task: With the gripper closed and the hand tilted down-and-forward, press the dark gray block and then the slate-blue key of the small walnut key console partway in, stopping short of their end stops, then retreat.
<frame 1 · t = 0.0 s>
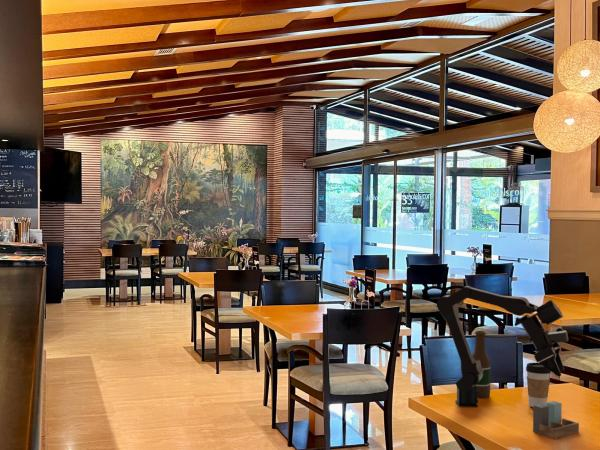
hand: (561, 373, 221), 15 cm above the table, tool tilted 35°, fingers open, 9 cm apart
beer bottle: (479, 396, 248), on the table
slate blue key: (553, 415, 210), point 4 cm above the table, slide at 0.0 cm
coffee cup: (537, 406, 235), on the table
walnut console: (547, 429, 208), on the table
dark gray block: (540, 418, 206), point 4 cm above the table, slide at 0.0 cm
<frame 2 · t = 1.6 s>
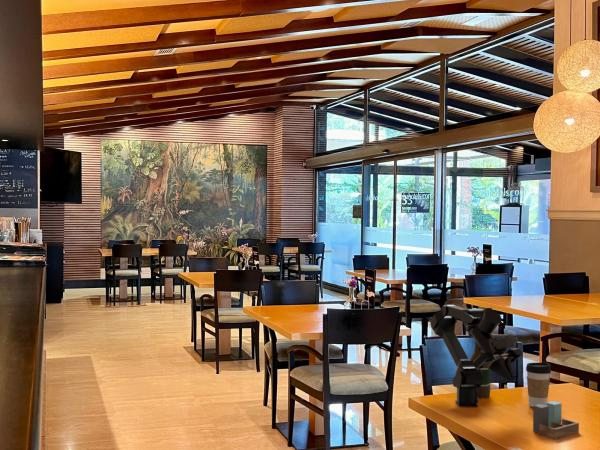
hand: (512, 380, 215), 14 cm above the table, tool tilted 45°, fingers closed
nothing on the table moved.
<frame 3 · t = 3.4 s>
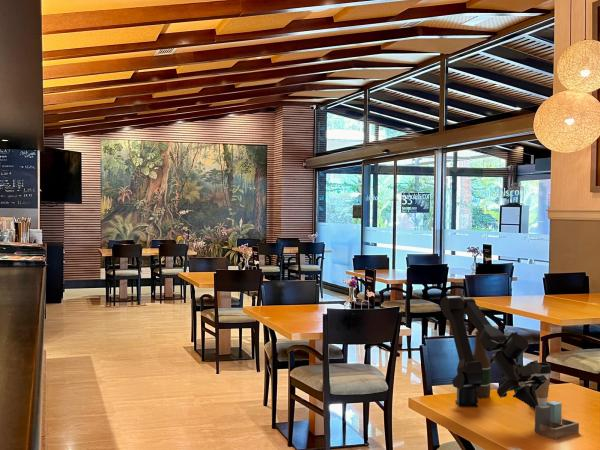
hand: (537, 409, 207), 7 cm above the table, tool tilted 45°, fingers closed, pressing on dark gray block
dark gray block: (542, 419, 206), point 4 cm above the table, slide at 0.6 cm, touching gripper
everything else where it was.
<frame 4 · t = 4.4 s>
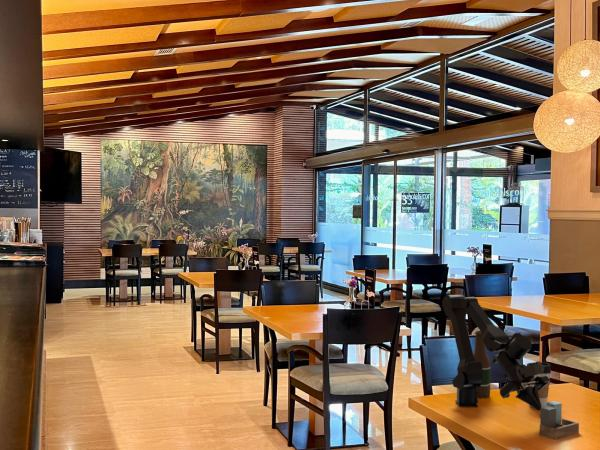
hand: (540, 410, 206), 7 cm above the table, tool tilted 45°, fingers closed
dark gray block: (548, 420, 204), point 4 cm above the table, slide at 2.6 cm
everything else where it was.
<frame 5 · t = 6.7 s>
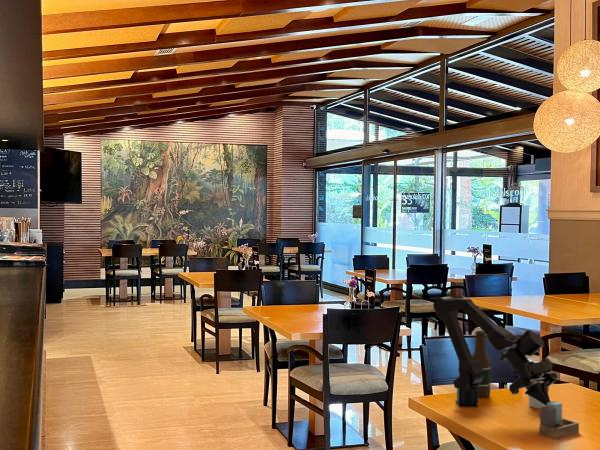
hand: (549, 405, 211), 7 cm above the table, tool tilted 45°, fingers closed, pressing on slate blue key
slate blue key: (554, 415, 210), point 4 cm above the table, slide at 0.1 cm, touching gripper
everything else where it was.
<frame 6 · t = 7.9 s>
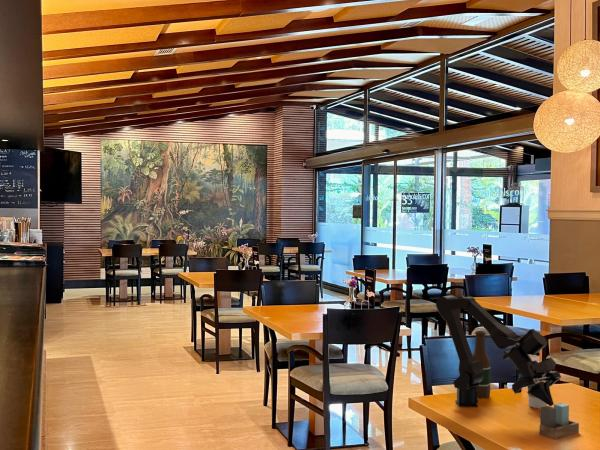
hand: (552, 405, 210), 7 cm above the table, tool tilted 45°, fingers closed
slate blue key: (561, 417, 208), point 4 cm above the table, slide at 2.6 cm
everything else where it was.
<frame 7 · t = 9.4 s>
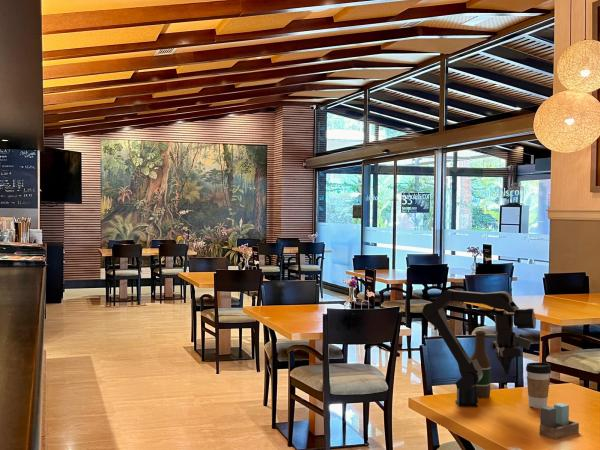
hand: (506, 374, 228), 13 cm above the table, tool pointing down, fingers closed
nothing on the table moved.
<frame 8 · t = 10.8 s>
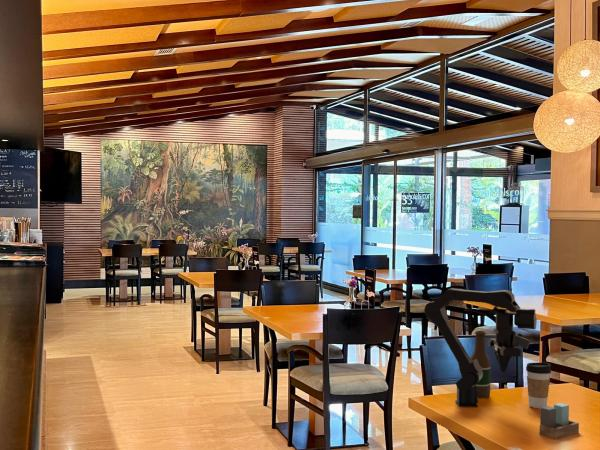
hand: (503, 372, 229), 13 cm above the table, tool pointing down, fingers closed
nothing on the table moved.
at the end: dark gray block slide at 2.6 cm; slate blue key slide at 2.6 cm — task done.
